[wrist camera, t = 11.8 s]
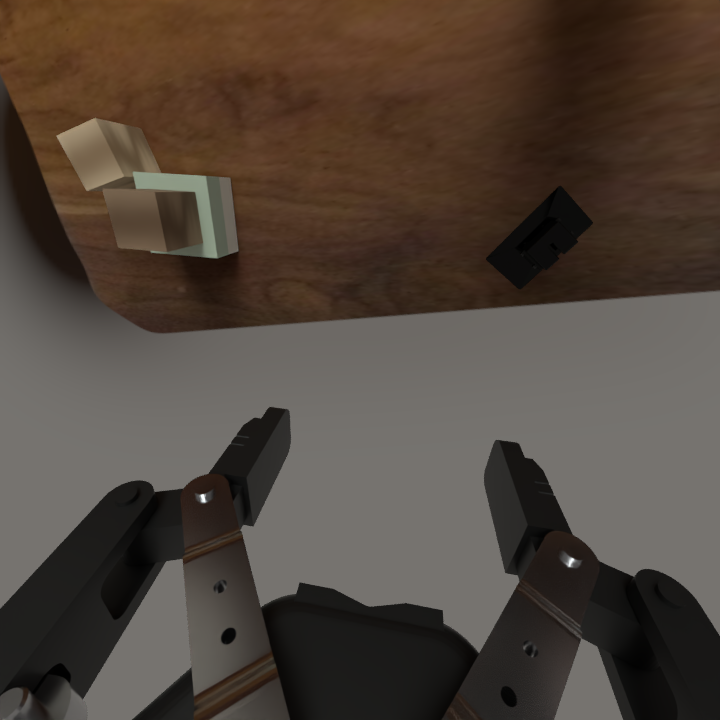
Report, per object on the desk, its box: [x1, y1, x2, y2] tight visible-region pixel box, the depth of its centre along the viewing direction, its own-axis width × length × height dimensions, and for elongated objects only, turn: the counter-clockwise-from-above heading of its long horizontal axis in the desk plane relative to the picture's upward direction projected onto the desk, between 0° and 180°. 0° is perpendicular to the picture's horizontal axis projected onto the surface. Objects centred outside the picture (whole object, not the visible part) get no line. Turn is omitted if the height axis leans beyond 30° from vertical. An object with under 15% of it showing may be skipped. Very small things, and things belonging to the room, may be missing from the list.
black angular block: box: [486, 186, 593, 289], centre depth 34 cm, size 12×7×5 cm, turn 141°
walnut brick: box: [102, 189, 203, 252], centre depth 32 cm, size 5×5×6 cm
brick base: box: [133, 172, 239, 258], centre depth 37 cm, size 8×8×5 cm
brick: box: [57, 118, 161, 191], centre depth 35 cm, size 5×5×6 cm
